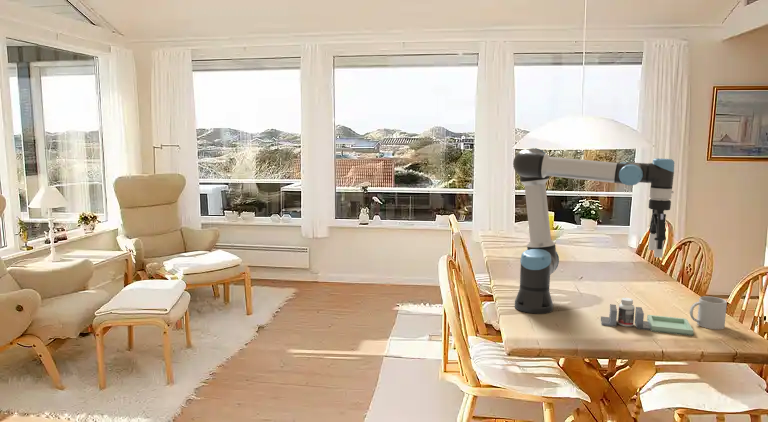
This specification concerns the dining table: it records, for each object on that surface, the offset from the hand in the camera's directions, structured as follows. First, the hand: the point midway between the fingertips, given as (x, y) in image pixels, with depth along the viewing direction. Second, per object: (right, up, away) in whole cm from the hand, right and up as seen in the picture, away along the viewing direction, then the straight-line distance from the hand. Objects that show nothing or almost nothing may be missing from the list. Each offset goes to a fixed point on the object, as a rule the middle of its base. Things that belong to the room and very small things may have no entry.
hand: (655, 253), depth 215 cm
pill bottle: (-15, -26, -7) cm, 31 cm away
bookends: (-15, -26, -7) cm, 31 cm away
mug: (+16, -26, -7) cm, 32 cm away
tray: (0, -27, -10) cm, 28 cm away
